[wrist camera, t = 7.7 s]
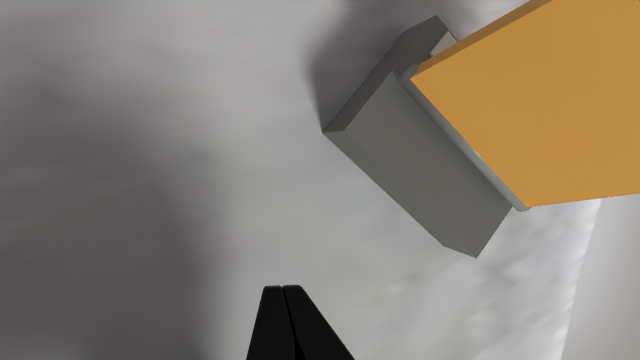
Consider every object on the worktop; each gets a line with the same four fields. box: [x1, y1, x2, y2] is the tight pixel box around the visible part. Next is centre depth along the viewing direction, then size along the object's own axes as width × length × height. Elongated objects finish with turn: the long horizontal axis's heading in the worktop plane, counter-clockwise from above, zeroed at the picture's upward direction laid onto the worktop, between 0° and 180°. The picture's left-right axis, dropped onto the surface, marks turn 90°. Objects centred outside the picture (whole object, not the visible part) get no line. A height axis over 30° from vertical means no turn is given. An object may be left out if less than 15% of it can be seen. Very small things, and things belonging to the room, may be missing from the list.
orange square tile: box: [396, 0, 640, 212], centre depth 17 cm, size 1×10×10 cm, turn 48°
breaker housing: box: [323, 15, 512, 258], centre depth 23 cm, size 8×11×3 cm
